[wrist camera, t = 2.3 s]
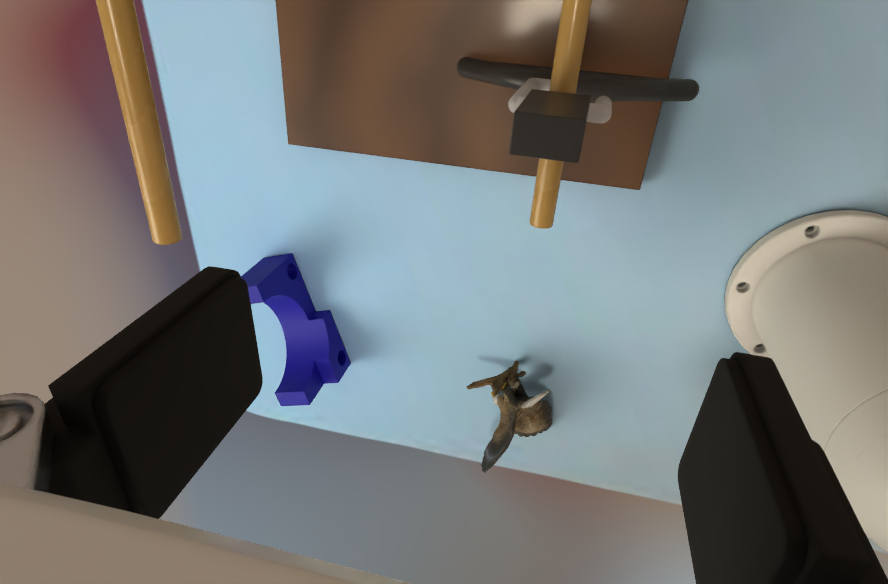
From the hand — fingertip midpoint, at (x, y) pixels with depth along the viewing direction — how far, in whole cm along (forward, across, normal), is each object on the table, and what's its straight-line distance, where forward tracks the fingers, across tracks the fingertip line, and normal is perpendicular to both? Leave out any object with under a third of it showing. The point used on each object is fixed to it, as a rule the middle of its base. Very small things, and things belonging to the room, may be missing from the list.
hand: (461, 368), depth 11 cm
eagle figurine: (+30, -1, +26) cm, 40 cm away
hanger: (+27, -1, -2) cm, 27 cm away
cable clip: (+30, +19, +21) cm, 42 cm away
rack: (+30, +6, -2) cm, 31 cm away
